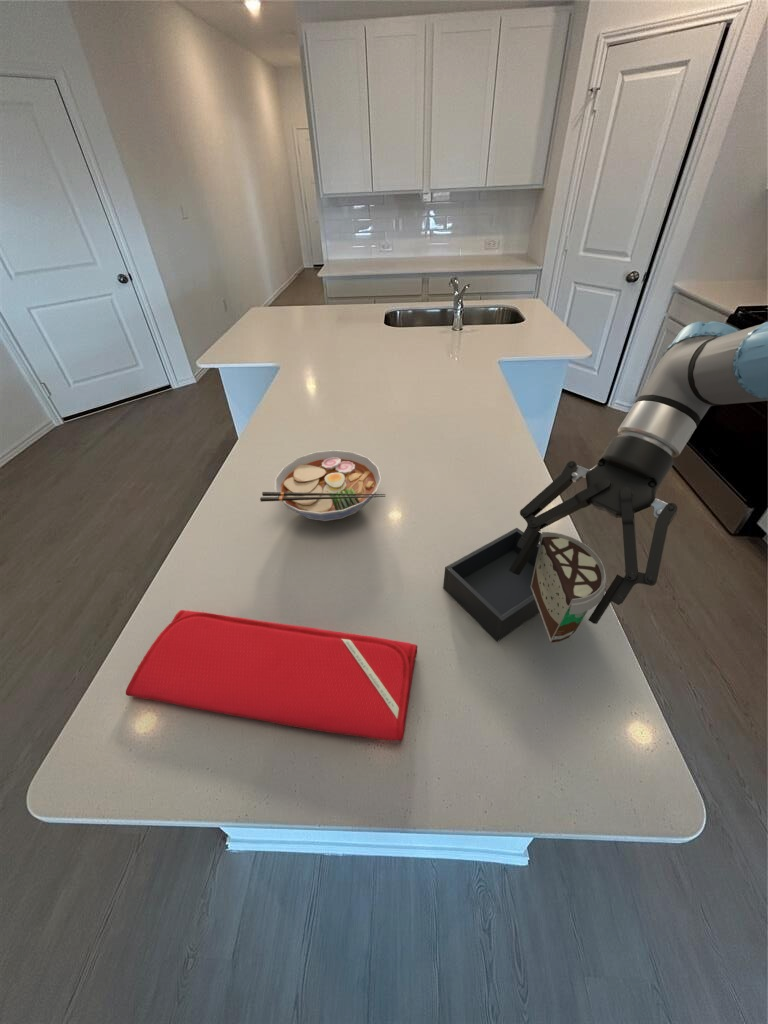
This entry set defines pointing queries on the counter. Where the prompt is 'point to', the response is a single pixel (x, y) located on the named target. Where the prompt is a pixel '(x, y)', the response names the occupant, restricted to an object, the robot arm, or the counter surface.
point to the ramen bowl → (326, 484)
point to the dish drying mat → (280, 674)
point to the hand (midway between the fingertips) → (551, 596)
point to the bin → (494, 585)
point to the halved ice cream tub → (566, 583)
